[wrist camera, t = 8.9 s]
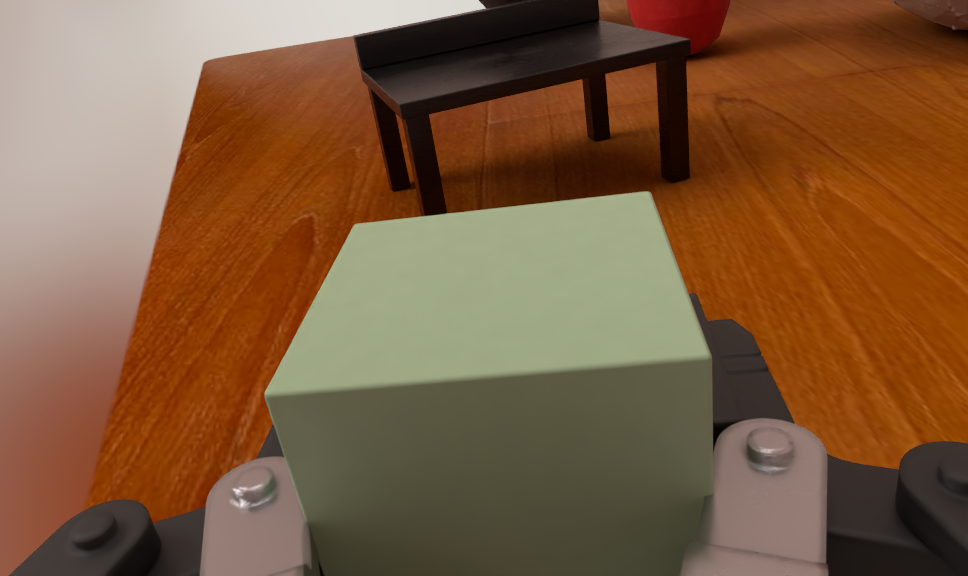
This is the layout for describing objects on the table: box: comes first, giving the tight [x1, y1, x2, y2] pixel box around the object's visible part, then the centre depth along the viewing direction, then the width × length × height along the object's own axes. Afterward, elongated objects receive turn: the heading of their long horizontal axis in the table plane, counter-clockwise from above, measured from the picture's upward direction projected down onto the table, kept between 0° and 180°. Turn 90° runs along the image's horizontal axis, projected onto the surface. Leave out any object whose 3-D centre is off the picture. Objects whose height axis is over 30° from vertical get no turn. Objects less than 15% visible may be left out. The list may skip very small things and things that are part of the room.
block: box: [265, 191, 714, 576], centre depth 12 cm, size 5×5×9 cm
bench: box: [353, 0, 691, 217], centre depth 46 cm, size 16×12×10 cm
